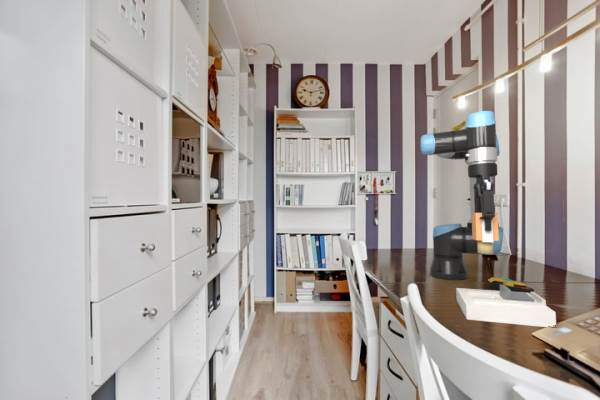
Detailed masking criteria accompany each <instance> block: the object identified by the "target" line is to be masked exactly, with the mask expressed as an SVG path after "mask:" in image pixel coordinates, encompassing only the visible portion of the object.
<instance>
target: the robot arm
mask: <svg viewBox="0 0 600 400" xmlns="http://www.w3.org/2000/svg"><path fill="white" fill-rule="evenodd" d="M465 123H466V124H465V127H466V128H465V129H456V130H451V131H450V130H449V131H443V132H442V131H441V132H434V133H433V132H432V133H427V134H423V135H421V137H420V152H421V154H422V155H423V156H437V157H439V158H441V159H446V160H464V163H465V164H466V165H467V166H468V167H467V174H468V175H467V176H468V178H469V198H470V199H469V201H470V203H469V204H470V219H469V220H468V221H467V223H466V226H463V225H462V223H449V224H441V225H436V226H434V228H433V230H432V240H433V242H432V245H433V260H432V263H431V266H430V269H429V276H431V275H432V276H431V277H433V276H434V278H438V279H442V280H443V279H444V280H466V279H468V277H469V274H468V270H467V267H466V265H465V262H464V258H463V257H464V256H463V254H470V255H482V254H481V253H478V245H477V240H475V239H473V238H472V213H482V217H480V218H479V219H484V220H481V228H482V242H493V252H494V254H484V256H489V255H495V256H497V255H499V254H500V253H501V251H502V247H503V238H504V228H503V227H502V226H500V223H499V222H498V233H499V241H493V220H491V219H493V217H495V213H496V211H495V197H494V195H495V194H494V189H495V188H494V186H495V182H494V181H493V177H496V176H498V164H497V163H496V162H498V157H499V156H500V152H501V151H500V144H499V140H498V135H497V131H496V130H497V128H496V124H497V121H496V114H495V112H493V111H491V110H482V111H475V112H473V113H469V115H468V116H467V117H466V122H465Z"/></svg>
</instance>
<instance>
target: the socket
mask: <svg viewBox="0 0 600 400" xmlns="http://www.w3.org/2000/svg"><path fill="white" fill-rule="evenodd" d="M455 291H456V292H455V293H456V294H455V296H456V302H457V304H458V306H459V307H460V310H461V311H462V313H463V315H464V318H465V319H466V320H469V321H479V322H480V321H481V322H490V323H499V324H508V325H509V324H510V325H511V324H512V325H520V326H530V327H531V326H532V327H541V328H549V327H548V326H553V325H556V326H557V314H556V311H554V310H553V309H551V308H550V307H549V306H547V303H546V302H547V301H546V299H545V298H543V297H542V296H541V295H539V294H537V293H536V292H535V291H534V292H530V293H526V294H528V295H529V296H530V297H532V298H533V299H534V302H531V301H517V300H504V299H503V298H502V297H501V296H500V291H494V290H491V289H475V288H463V287H462V288H461V287H460V288H459V287H456V288H455ZM520 293H524V292H520Z"/></svg>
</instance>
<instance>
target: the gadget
mask: <svg viewBox="0 0 600 400" xmlns="http://www.w3.org/2000/svg"><path fill="white" fill-rule="evenodd" d="M485 282H486V283H487V285H489V290H494V291H500V285H505V286H506V287H507V288H509V289H510V290H511V292H524V293H529V294H530V292H534V293H535V289H534V288H532V287H530V286H527V285H526V284H525V283H524V282H521V281H515V280H512V279H509V278H506V277H501V278H499V277H494V276H492V277H490V278H489V279H486V280H485Z"/></svg>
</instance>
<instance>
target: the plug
mask: <svg viewBox="0 0 600 400" xmlns="http://www.w3.org/2000/svg"><path fill="white" fill-rule="evenodd" d="M480 217H482V213H472V238H473V239H475V240H477V245H478V253H481V254H480V255H485V254H494V252H493V242H482V228H481V220H484V219H479V218H480ZM491 220H493V241H499V233H498V223H499V212H495V217H493V219H491Z"/></svg>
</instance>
